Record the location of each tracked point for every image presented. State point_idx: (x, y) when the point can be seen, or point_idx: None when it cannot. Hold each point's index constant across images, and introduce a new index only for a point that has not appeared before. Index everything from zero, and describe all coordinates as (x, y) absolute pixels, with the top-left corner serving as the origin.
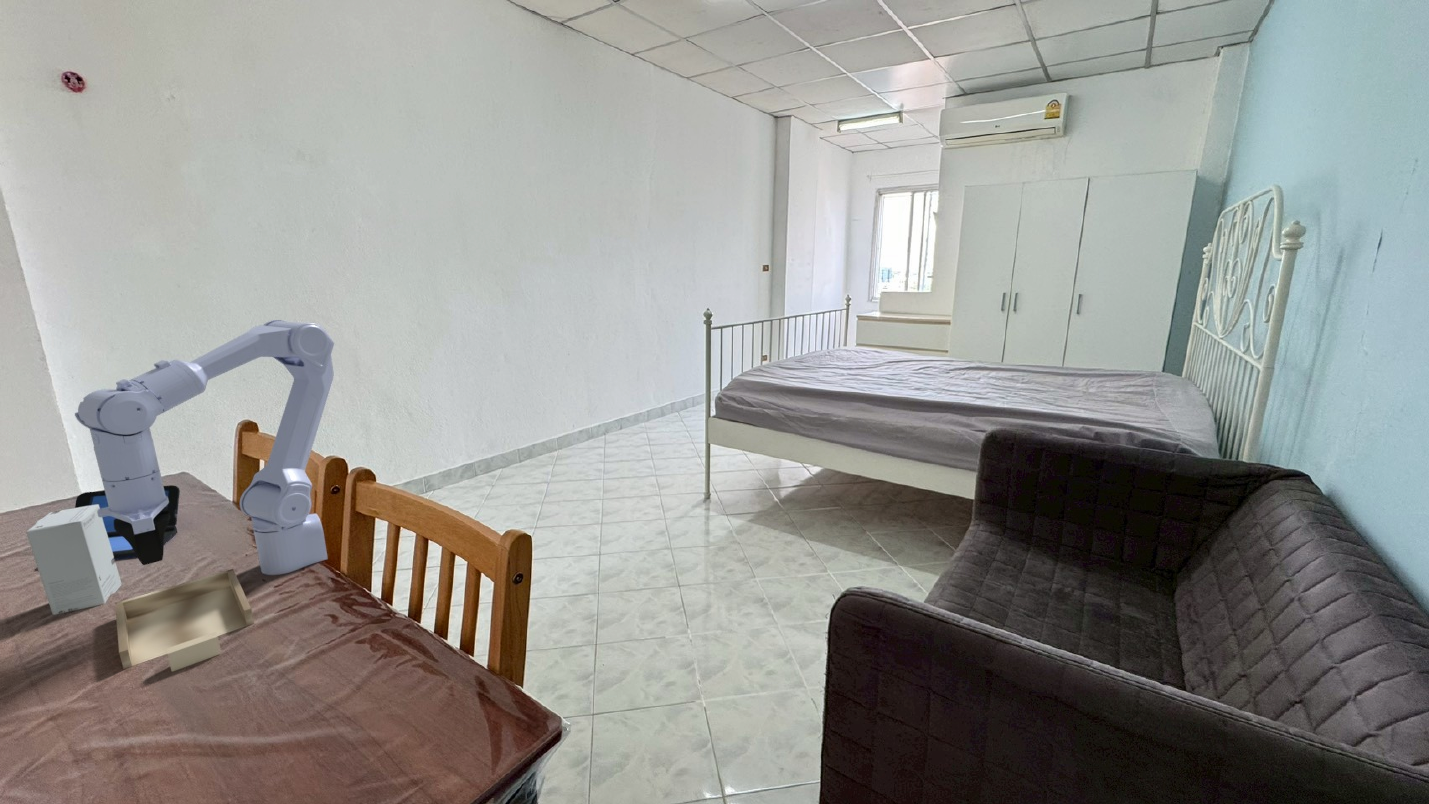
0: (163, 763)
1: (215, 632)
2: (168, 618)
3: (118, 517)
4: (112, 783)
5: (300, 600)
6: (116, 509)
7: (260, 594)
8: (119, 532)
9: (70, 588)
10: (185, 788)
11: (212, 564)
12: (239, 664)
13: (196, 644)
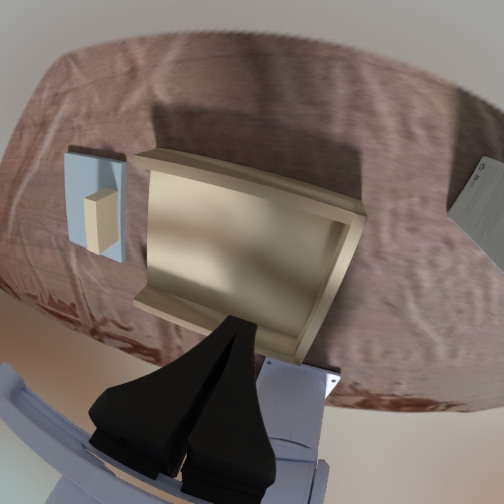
0: (23, 148)
1: (98, 253)
2: (269, 246)
3: (46, 443)
4: (25, 118)
5: (185, 341)
6: (69, 490)
7: None
8: (104, 392)
9: (496, 199)
10: (5, 155)
11: (423, 354)
12: None
13: (85, 227)
